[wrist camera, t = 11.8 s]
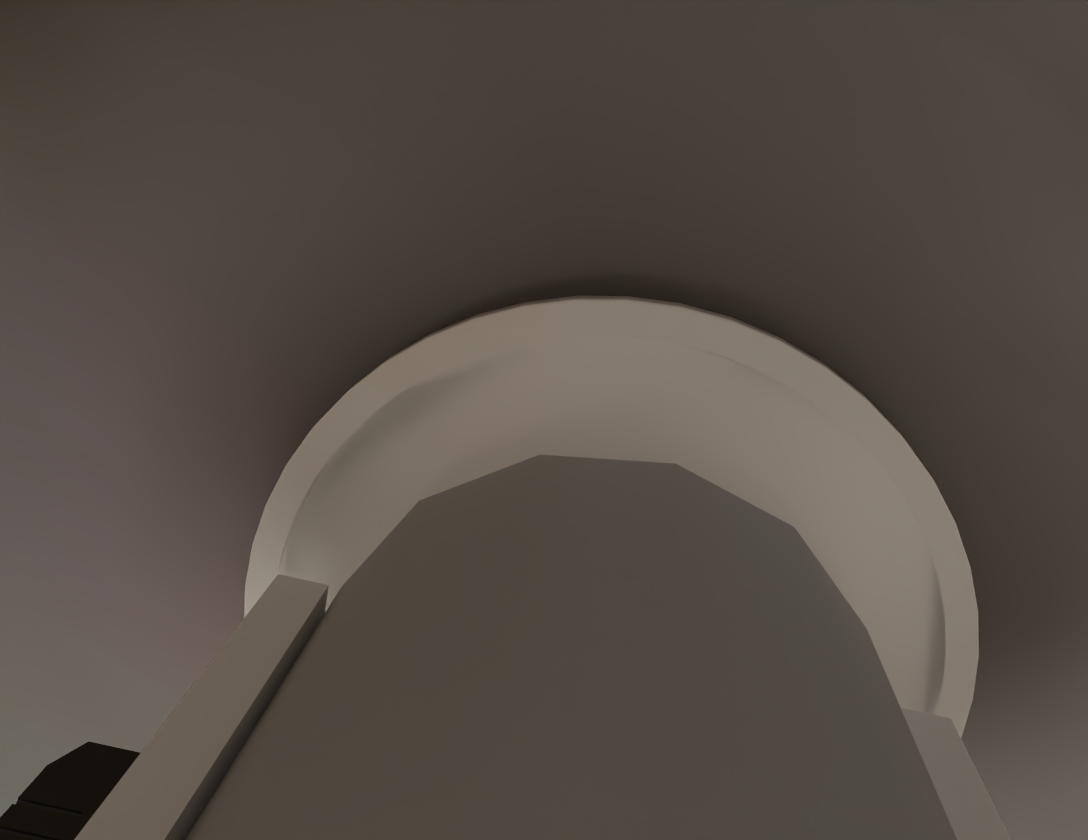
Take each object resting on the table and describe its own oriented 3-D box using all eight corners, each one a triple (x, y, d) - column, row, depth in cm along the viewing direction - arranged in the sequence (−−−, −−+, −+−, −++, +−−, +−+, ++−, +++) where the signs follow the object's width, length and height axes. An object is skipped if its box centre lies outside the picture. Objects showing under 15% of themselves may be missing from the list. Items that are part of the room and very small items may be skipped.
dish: (307, 219, 16) (281, 227, 15) (1058, 371, 15) (1092, 393, 14) (240, 826, 20) (216, 870, 18) (843, 960, 19) (856, 1015, 18)
